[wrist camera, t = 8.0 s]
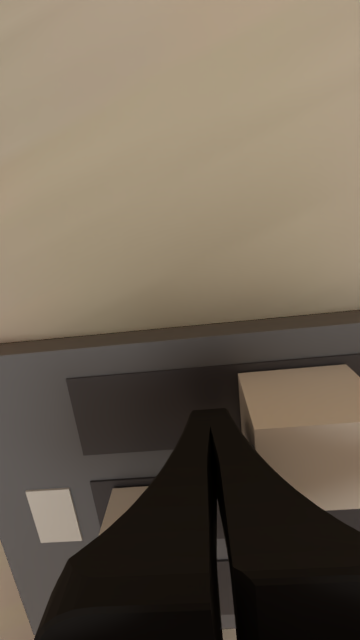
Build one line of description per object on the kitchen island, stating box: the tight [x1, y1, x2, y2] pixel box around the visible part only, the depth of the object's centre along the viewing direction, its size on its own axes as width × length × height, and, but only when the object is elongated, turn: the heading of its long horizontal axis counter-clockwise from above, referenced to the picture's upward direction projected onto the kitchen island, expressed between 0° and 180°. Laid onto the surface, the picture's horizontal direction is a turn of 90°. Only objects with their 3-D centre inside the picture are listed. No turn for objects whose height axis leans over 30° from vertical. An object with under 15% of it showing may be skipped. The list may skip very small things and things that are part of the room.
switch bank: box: [0, 310, 360, 635], centre depth 15 cm, size 16×20×2 cm
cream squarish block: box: [238, 364, 360, 511], centre depth 11 cm, size 3×4×4 cm
